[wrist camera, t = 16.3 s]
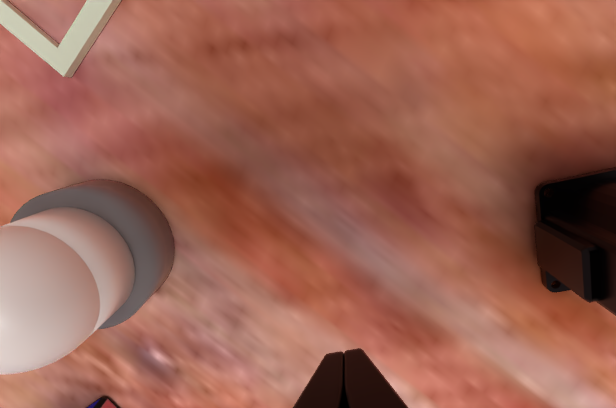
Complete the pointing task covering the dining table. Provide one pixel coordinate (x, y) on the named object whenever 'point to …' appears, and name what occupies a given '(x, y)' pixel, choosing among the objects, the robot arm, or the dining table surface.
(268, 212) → the dining table surface
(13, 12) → the frame
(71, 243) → the dome
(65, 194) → the dome base
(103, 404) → the puzzle cube
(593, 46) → the dining table surface
